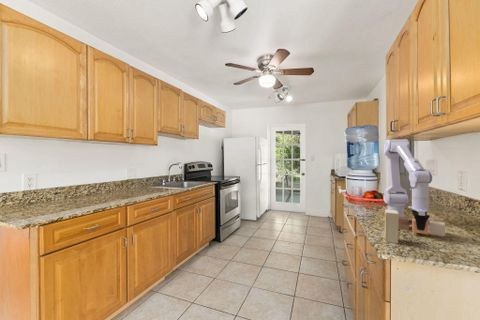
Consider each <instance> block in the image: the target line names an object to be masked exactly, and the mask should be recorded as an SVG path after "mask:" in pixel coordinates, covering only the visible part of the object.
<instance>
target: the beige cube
mask: <svg viewBox="0 0 480 320" xmlns="http://www.w3.org/2000/svg"><path fill="white" fill-rule="evenodd" d="M445 223H446V222H441V221H434V220H430V221H429V235H431V236H432V235H433V236H438V237H444V236H445V237H446V224H445Z"/></svg>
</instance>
